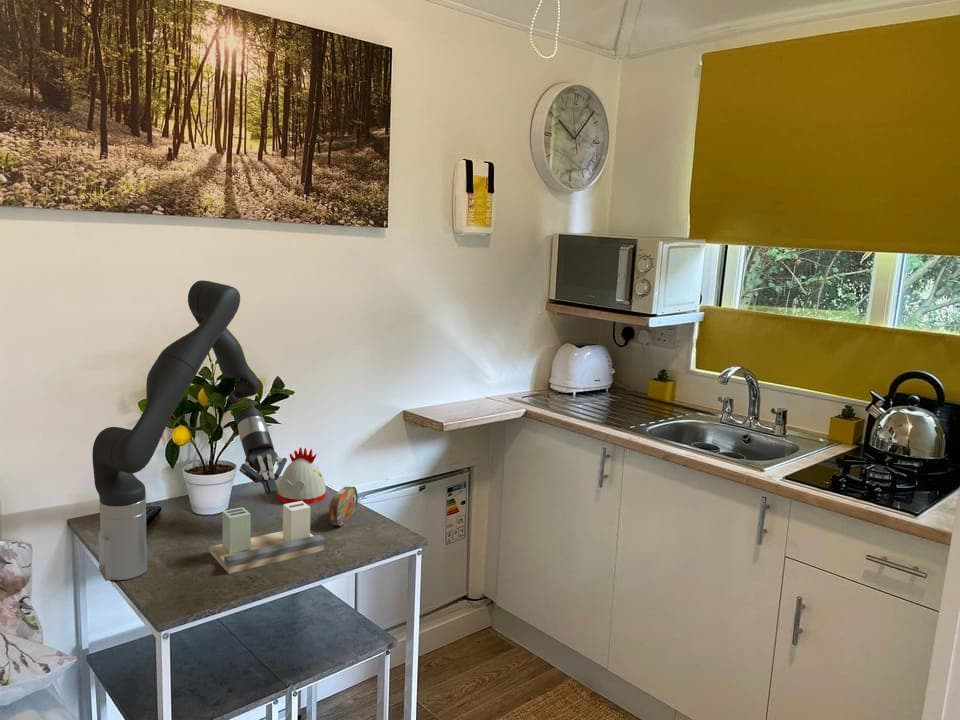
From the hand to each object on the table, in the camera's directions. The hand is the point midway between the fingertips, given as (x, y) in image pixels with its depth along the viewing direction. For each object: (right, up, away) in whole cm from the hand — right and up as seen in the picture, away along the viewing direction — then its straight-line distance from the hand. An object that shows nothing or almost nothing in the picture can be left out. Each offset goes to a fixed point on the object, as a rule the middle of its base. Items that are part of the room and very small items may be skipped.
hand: (272, 494), depth 188 cm
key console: (+2, -12, -10) cm, 16 cm away
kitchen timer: (+1, -6, +28) cm, 29 cm away
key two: (-5, -11, -13) cm, 17 cm away
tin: (+16, -10, +12) cm, 22 cm away
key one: (+8, -10, -6) cm, 14 cm away
